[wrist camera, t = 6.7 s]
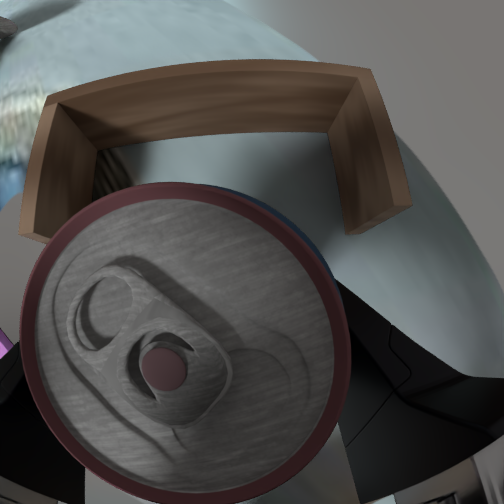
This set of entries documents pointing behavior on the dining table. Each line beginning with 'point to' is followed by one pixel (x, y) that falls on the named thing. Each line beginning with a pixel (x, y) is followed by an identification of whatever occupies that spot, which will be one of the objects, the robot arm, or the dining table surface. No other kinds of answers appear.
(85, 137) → the wooden u-shaped frame
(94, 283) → the soda can
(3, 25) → the disc
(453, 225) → the dining table surface
